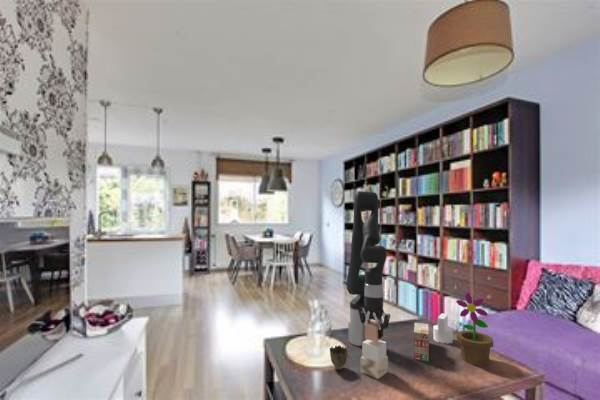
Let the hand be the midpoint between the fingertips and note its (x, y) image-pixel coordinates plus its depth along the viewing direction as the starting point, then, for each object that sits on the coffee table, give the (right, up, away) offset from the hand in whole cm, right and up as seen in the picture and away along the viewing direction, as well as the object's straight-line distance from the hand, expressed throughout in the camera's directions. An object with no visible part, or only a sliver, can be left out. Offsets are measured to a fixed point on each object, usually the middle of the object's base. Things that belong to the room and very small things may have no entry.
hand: (374, 336), depth 130 cm
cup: (-14, -15, +2) cm, 20 cm away
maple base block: (0, -14, 0) cm, 14 cm away
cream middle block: (0, -8, 0) cm, 8 cm away
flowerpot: (+46, -15, +9) cm, 50 cm away
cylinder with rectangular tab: (+42, -16, +31) cm, 55 cm away
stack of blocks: (+27, -15, +19) cm, 36 cm away
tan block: (0, -1, 0) cm, 1 cm away
